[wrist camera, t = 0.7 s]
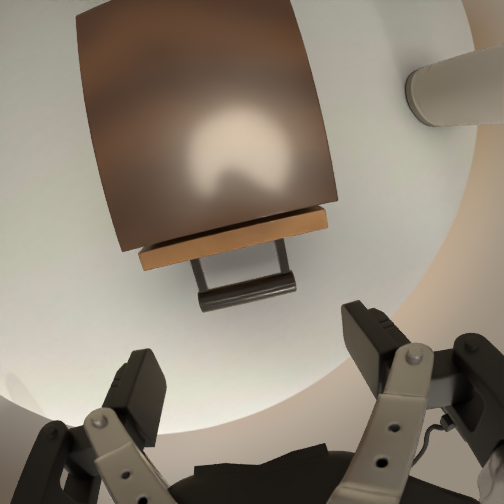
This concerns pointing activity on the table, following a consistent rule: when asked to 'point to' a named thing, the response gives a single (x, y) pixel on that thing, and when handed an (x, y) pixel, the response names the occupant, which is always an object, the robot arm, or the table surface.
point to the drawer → (231, 240)
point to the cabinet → (201, 115)
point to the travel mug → (460, 90)
